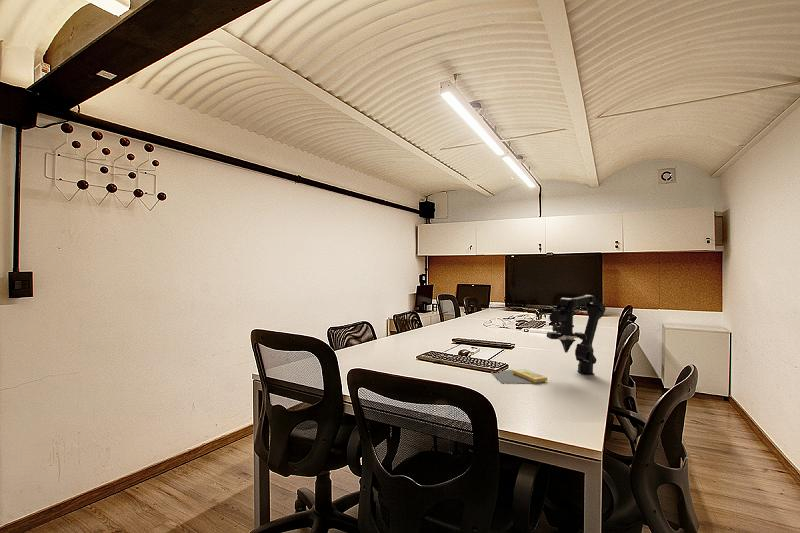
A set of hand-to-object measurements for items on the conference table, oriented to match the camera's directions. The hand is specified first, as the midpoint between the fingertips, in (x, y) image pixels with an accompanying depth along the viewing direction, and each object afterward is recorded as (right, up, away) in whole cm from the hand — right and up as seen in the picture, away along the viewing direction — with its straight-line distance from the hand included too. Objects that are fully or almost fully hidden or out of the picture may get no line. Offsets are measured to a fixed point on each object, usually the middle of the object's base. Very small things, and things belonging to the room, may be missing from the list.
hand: (566, 352), depth 201 cm
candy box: (-16, -11, -1) cm, 20 cm away
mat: (-27, -13, -1) cm, 30 cm away
